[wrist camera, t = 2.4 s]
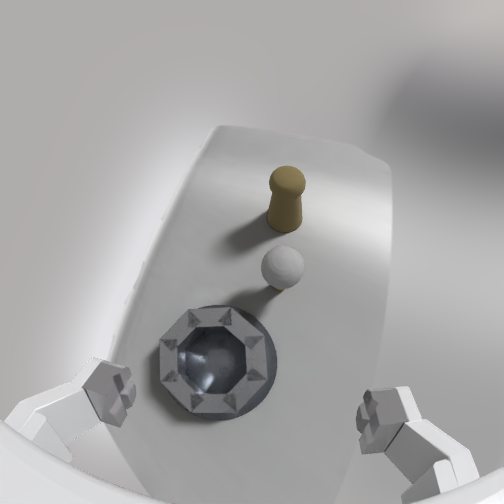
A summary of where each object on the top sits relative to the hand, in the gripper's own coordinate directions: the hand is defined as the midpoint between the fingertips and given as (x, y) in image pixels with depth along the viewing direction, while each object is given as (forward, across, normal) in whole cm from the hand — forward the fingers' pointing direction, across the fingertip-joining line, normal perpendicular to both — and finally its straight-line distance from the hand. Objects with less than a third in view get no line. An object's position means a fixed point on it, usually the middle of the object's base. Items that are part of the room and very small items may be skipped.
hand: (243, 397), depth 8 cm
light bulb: (+33, -2, +12) cm, 35 cm away
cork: (+41, -2, +3) cm, 41 cm away
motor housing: (+24, +7, +20) cm, 32 cm away
